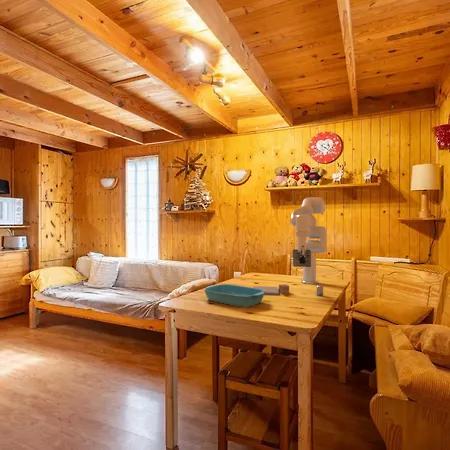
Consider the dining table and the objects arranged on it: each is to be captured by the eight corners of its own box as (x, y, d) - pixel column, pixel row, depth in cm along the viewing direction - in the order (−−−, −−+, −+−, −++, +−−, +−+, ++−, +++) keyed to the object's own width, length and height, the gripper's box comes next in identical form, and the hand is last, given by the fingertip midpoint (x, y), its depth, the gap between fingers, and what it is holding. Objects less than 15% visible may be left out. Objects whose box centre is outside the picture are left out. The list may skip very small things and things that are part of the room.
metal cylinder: (315, 294, 194) (316, 285, 194) (322, 294, 194) (322, 285, 194) (317, 296, 190) (317, 286, 190) (323, 296, 190) (323, 286, 190)
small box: (309, 265, 200) (309, 249, 200) (311, 267, 193) (311, 250, 193) (292, 265, 201) (292, 249, 201) (293, 266, 194) (293, 249, 194)
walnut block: (278, 292, 200) (278, 284, 200) (286, 292, 201) (286, 284, 201) (281, 294, 195) (281, 286, 195) (289, 293, 196) (289, 285, 196)
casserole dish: (196, 300, 179) (196, 287, 179) (221, 293, 197) (221, 282, 197) (250, 311, 157) (250, 297, 157) (272, 302, 174) (272, 290, 174)
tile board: (253, 288, 212) (253, 286, 212) (277, 289, 210) (277, 286, 210) (252, 294, 194) (252, 291, 194) (278, 295, 192) (278, 292, 192)
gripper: (294, 233, 206) (294, 261, 206) (297, 235, 189) (297, 264, 189) (305, 234, 205) (305, 261, 205) (310, 235, 188) (309, 264, 188)
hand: (301, 262), depth 197 cm, fingers closed on small box, 6 cm apart
